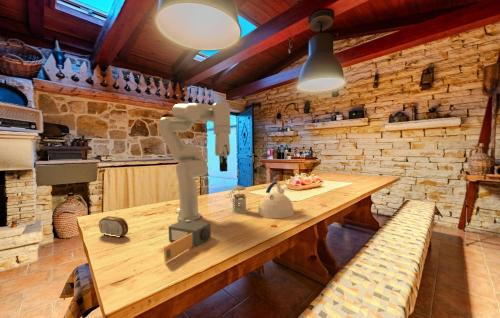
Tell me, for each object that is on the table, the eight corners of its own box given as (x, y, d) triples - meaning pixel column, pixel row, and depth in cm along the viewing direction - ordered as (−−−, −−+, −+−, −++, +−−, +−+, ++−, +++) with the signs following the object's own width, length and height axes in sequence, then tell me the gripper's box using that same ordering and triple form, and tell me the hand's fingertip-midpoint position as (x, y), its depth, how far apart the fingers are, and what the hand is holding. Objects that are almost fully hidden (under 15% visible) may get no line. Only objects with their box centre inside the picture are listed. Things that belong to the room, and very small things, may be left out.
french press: (241, 214, 119) (240, 170, 117) (225, 212, 125) (224, 170, 124) (251, 210, 127) (249, 168, 126) (235, 207, 133) (234, 168, 132)
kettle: (299, 210, 124) (298, 180, 123) (285, 221, 106) (284, 185, 105) (268, 206, 134) (267, 178, 134) (251, 215, 117) (250, 183, 116)
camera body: (168, 241, 86) (167, 225, 86) (185, 232, 95) (184, 217, 95) (198, 247, 80) (197, 230, 80) (213, 237, 89) (212, 221, 89)
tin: (129, 236, 93) (128, 217, 93) (123, 239, 90) (121, 220, 90) (104, 233, 98) (103, 215, 98) (98, 235, 95) (96, 217, 95)
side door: (167, 262, 69) (166, 247, 69) (164, 261, 70) (163, 246, 69) (194, 246, 80) (194, 233, 80) (192, 245, 81) (191, 232, 81)
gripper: (210, 132, 101) (212, 170, 101) (217, 129, 87) (219, 173, 87) (226, 132, 103) (227, 169, 104) (234, 129, 89) (236, 172, 90)
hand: (223, 171), depth 96 cm, fingers closed
